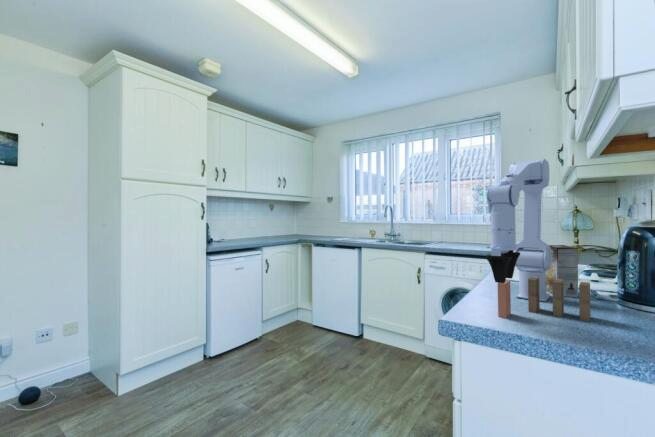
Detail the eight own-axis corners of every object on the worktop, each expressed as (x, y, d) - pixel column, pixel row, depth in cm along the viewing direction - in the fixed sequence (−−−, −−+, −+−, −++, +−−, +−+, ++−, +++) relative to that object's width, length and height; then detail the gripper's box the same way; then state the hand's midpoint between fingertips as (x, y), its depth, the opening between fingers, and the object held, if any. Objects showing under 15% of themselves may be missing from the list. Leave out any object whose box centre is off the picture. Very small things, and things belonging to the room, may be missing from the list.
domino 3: (555, 311, 84) (555, 278, 84) (563, 312, 83) (563, 279, 83) (552, 315, 81) (552, 281, 81) (561, 317, 79) (560, 282, 79)
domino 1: (503, 312, 84) (502, 279, 84) (510, 313, 83) (510, 280, 83) (498, 316, 81) (497, 282, 81) (505, 318, 80) (505, 283, 80)
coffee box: (543, 289, 108) (542, 244, 108) (563, 290, 107) (563, 244, 107) (557, 296, 99) (556, 247, 99) (579, 297, 98) (579, 247, 98)
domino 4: (581, 315, 81) (581, 281, 80) (590, 316, 79) (589, 282, 79) (579, 320, 77) (579, 284, 77) (589, 321, 76) (588, 285, 76)
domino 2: (532, 307, 88) (531, 276, 88) (539, 308, 87) (539, 277, 87) (528, 311, 85) (528, 279, 84) (536, 312, 83) (535, 280, 83)
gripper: (494, 228, 90) (495, 274, 90) (478, 230, 79) (479, 282, 79) (522, 228, 85) (523, 277, 85) (508, 231, 75) (509, 286, 75)
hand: (503, 280), depth 82 cm, fingers open, 7 cm apart
